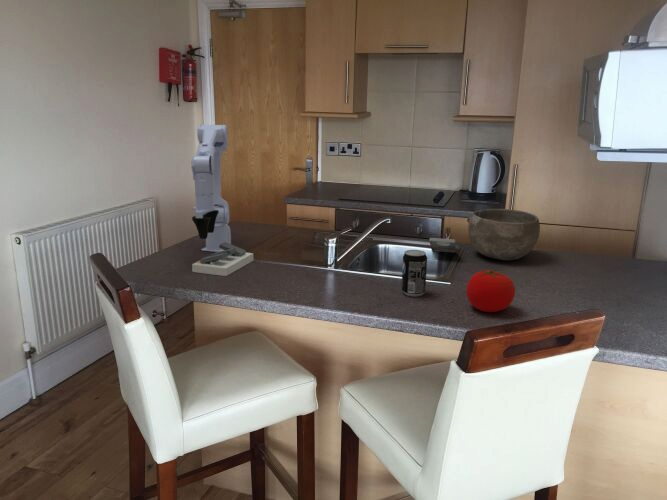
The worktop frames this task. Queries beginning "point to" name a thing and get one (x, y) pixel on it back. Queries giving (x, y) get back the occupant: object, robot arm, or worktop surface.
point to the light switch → (443, 245)
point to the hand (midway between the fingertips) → (206, 235)
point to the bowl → (503, 233)
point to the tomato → (490, 291)
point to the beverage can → (414, 273)
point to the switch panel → (223, 264)
